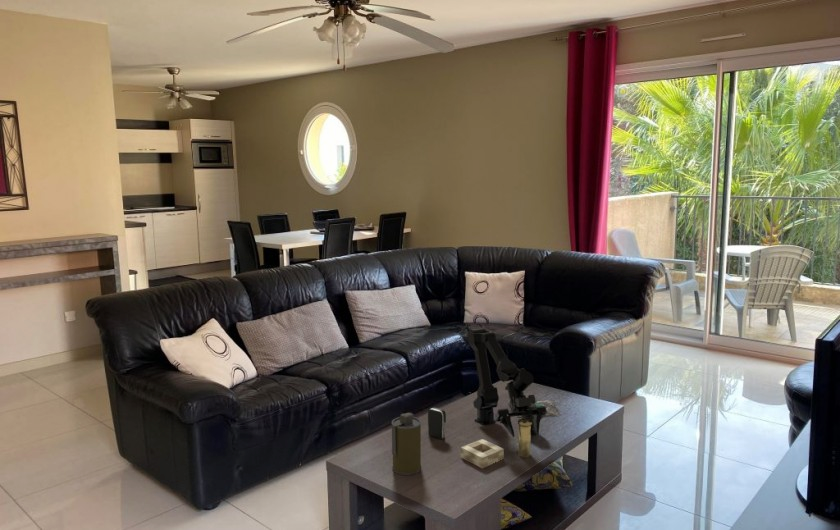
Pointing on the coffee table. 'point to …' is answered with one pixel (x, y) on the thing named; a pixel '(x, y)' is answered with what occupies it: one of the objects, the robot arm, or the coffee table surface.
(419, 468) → the canister
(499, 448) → the bore block
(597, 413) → the coffee table surface
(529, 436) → the brass capped cylinder
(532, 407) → the supplement bottle
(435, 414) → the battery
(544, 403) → the terrain model
